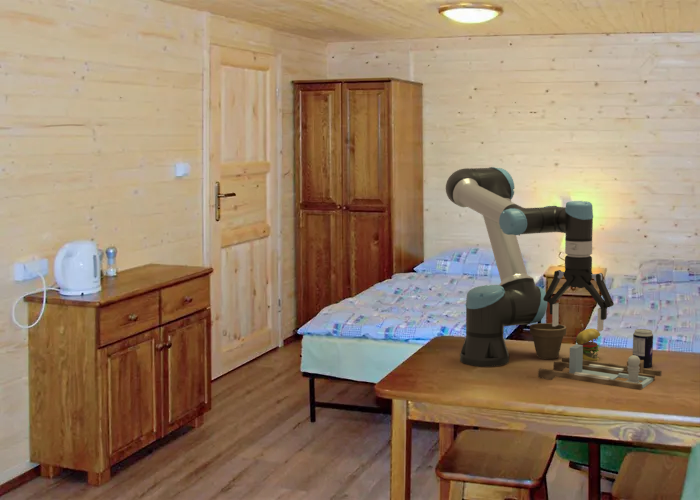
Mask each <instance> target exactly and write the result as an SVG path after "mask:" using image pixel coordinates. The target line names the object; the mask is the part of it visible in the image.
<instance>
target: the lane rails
mask: <svg viewBox="0 0 700 500" xmlns="http://www.w3.org/2000/svg"><path fill="white" fill-rule="evenodd" d="M569 358H570V356H569V357H568V356H562V357H561V360H560V361H559V360H553V369H546V368H538V370H537V374H538V375H537V377H538V378H539V379H545V380H550V381H552V380H554V379H555V378H562V379H568V380H569V379H570V380H575V381H576V380H577V381H582V382H588V383H594V384H600V385H608V386H613V387H614V386H615V387H619V388H626V389H633V390H639V391H640V390H643V389H642V384H638V383H632V382H625V381H626V380H620V381H619V379H614V380H612V379H610V377H606V376H600V375H593V374H587V373H580V372H575V373H574V374H573V373H569V372H567V371H565V372H564V370H565V369H569ZM582 369H583V370H590V371H596V372H603V373H610V374H616V375H618V374H619V373H623V374H628V371H627V365H624V364H617V363H610V362H603V361H598V360H596V361H590V360H583V364H582ZM638 376H644V377H650V378H653V382H654V381H655V379H656V377H661V376H662V370H659V369H652V368H644V370H643V373H638Z"/></svg>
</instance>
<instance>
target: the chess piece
mask: <svg viewBox="0 0 700 500" xmlns="http://www.w3.org/2000/svg"><path fill="white" fill-rule="evenodd" d="M627 361H628V364H629V366H628V367H627V368H628V369H627V371H628V379H627V380H625V381H627V382H633V383H641V382H642V381H641V380H638V372H640V370H639V369H640V367H639V366H638V365H639V364H640V359H639V357H638V356H636V355H633V354H632V355H630V356H629V357H628V358H627Z"/></svg>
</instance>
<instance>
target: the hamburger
mask: <svg viewBox="0 0 700 500" xmlns="http://www.w3.org/2000/svg"><path fill="white" fill-rule="evenodd" d="M581 327H582V329H583V330H582V331H580V332H579V333H578V334H577V335H576V339H575V341H576V344H578V345H583V360H590V361H599V360H600V358H599V357H598V354H599V353H598V352H599V350H600V349H599V347H600V345H599V344H598V340H599V337H601V333H600V332H599V331H597V329H596V328H586V329H584V324H581ZM594 340H595V341H596V342H594Z"/></svg>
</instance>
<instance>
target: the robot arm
mask: <svg viewBox="0 0 700 500" xmlns="http://www.w3.org/2000/svg"><path fill="white" fill-rule="evenodd" d="M514 189H515V183H514V179H513V177H512V176H511V174H510V172H508V171H507V170H506V169H505V168H501V167H494V166H491V167H490V166H489V167H478V168H477V167H476V168H473V167H471V168H468V167H467V168H466V167H465V168H461V169H457V170H455V171H454V172H452V174H450V176H449V177H448V179H447V180H446V183H445V193H446V196H447V198H448V199H449V201H451V202H452V203H453V204H455V205H457V206H459V207H461V208H468V209H471V210H473V211H475V212H476V213H477V214H480V215H482V216H483V217H482V218H483V221H484V224H485V227H486V231H487V235H488V237H489V241H490V246H491V249H492V253H493V256H494V260H495V264H496V267H497V271H498V276H499V278H500V283H499V285H498V284H490V285H487V284H486V285H480V286H477V287H476V286H475V287H474V288H471V289H469V290H468V292H467V293H466V300H465V310H466V311H465V338H464V342H463V345H462V348H461V351H460V352H459V353H460V355H459V356H460V357H459V360H460V362H461V363H463V364H465V365H469V366H474V367H484V368H485V367H486V368H487V367H491V368H492V367H500V366H504V365H507V364H509V362H510V354H509V351H508V347H507V344H506V341H505V337H504V330H505V328H504V327H511V326H520V325H522V326H523V325H531V324H537V323H538V322H540V321H541V320H542V319H544V317H545V314H546V311H547V308H548V304H549V314H550V315H551V316H552V318H551V320H552V321H551V323H552V326H554V327H555V326H557V325H558V324H559V317H560V316H559V315H560V314H559V307H560V306H559V302H558V301H559V299H560V298H561V297H562V296H563V294H565V293H566V291H568V290H569V288H570V287H571V288H573V289H574V288H579V289H585V290H586V291H587V292H588V293H589V294H590V296H591V297H592V298H593V300H594V301H595V302H596V304H597V305H598V306H599V307H598V308H597V329H596V330H597V331H599V333H600V332H602V331H604V320H607V318H608V316H607V315H608V313H607V312H608V308H610V307H613V306H614V305H615V304H614V301H613V299H612V297H611V294H610V292H609V290H608V287H607V285H606V283H605V281H604V274H603V273H602V272H600V273H593V257H592V256H591V255H592V254H593V231H594V230H593V226H594V224H593V219H594V213H593V210H594V209H593V203H592V202H591V201H583V200H574V201H573V200H571V201H568V202H566V204H565V207H564V206H557V205H546V206H542V207H541V206H540V207H523V206H521V205H519V204H517V203H514V202H512V199H513V198H514V195H515V190H514ZM546 233H547V234H548V233H563V234H565V237H564V238H565V239H564V240H565V243H564V245H565V249H564V252H565V254H566V256H565V257H564V271H562V270H560V269H558V270H555V271H554V273H553V279H552V280H551V283H550V284H549V286H548V289H547V290H546V291H545V289H544V288H542V287H541V286H539V285H536V282H535V280H534V277H532V276H530V275H529V274H528V273H527V269H526V265H525V261H524V258H523V255H522V252H521V248H520V244H519V241H518V237H517V236H520V235H531V234H546ZM563 277H564V278H565V282H564V283H563V284H562V286H561V287H560V288H559V289H558V290H557V291H556V289H557V287H558V285H559V284H560V281H561V279H562V278H563ZM592 280H594V281H595V282H596V285H597V287H598V290H599V292H600V293H599V292H598V290H597V289H596V288H595V285H594V284H593V282H592ZM555 291H556V293H555ZM554 293H555V294H554ZM553 294H554V295H553Z"/></svg>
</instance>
